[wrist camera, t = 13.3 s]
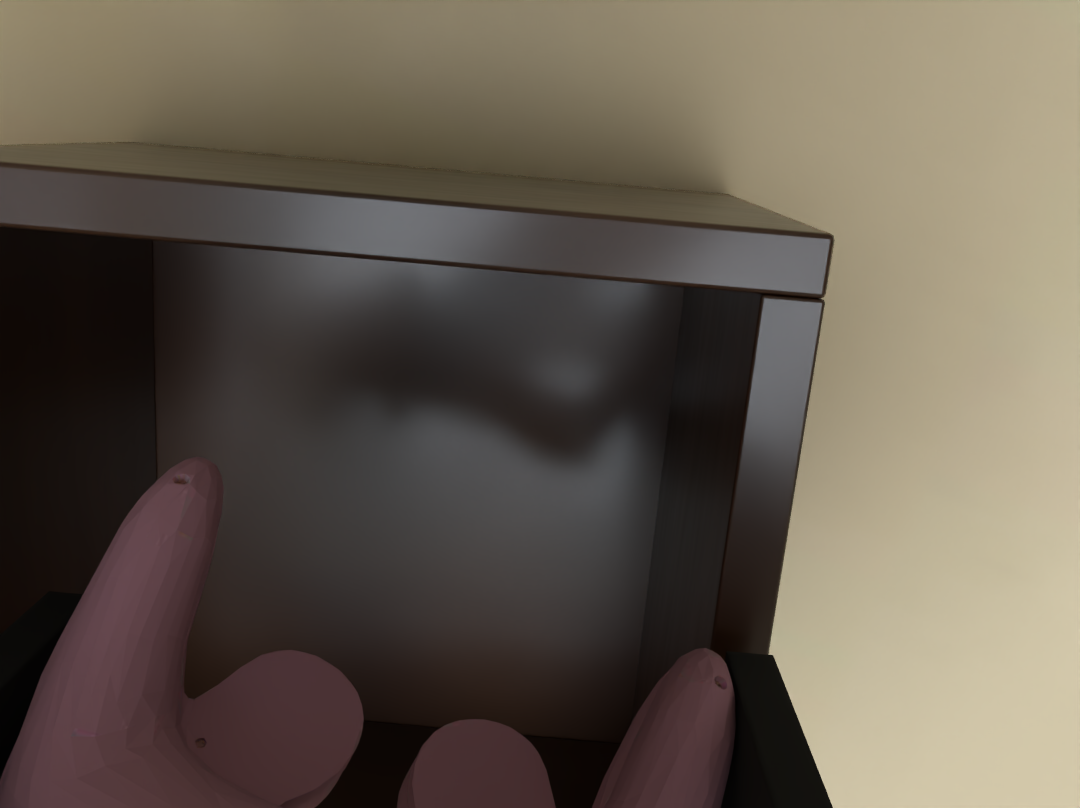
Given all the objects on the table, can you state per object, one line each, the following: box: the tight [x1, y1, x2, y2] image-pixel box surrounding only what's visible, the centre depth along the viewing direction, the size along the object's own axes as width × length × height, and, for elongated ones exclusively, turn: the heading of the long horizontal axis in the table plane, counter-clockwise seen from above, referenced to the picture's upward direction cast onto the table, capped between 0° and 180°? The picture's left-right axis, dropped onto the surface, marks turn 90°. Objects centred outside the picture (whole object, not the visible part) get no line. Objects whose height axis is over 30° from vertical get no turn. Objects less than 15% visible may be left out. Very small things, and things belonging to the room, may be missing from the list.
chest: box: [0, 142, 834, 808], centre depth 22 cm, size 15×16×10 cm
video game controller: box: [0, 457, 736, 808], centre depth 14 cm, size 10×5×7 cm, turn 68°
